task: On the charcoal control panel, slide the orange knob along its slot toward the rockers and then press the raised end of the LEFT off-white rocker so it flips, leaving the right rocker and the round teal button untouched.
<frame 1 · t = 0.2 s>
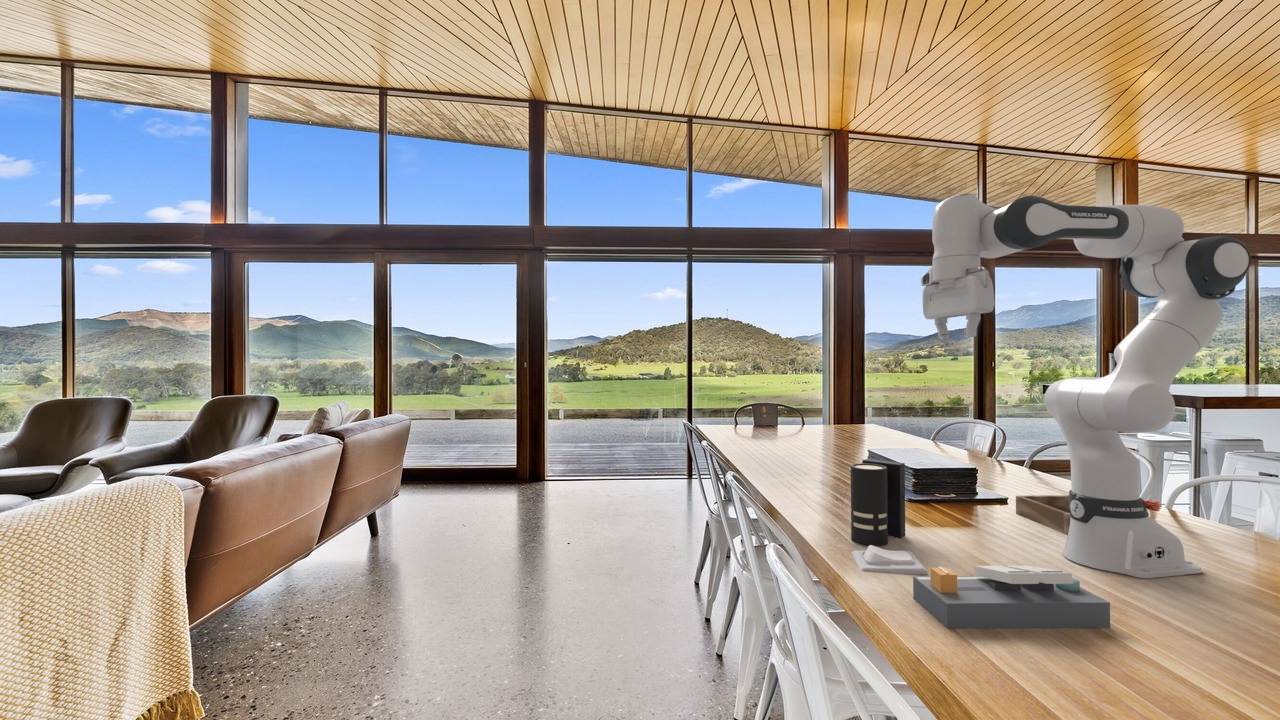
hand: (956, 337, 116), 48 cm above the table, fingers open, 8 cm apart
button: (1067, 584, 93), point 5 cm above the table, slide at 0.0 cm
slider knob: (943, 579, 93), point 6 cm above the table, slide at 0.0 cm
panel: (1005, 612, 93), on the table
light fixture: (874, 539, 132), on the table
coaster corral: (1075, 523, 143), on the table
light switch: (887, 566, 116), on the table
rocker A: (1037, 573, 93), point 6 cm above the table, hinge at 14.0°
rocker B: (1004, 573, 93), point 6 cm above the table, hinge at 14.0°
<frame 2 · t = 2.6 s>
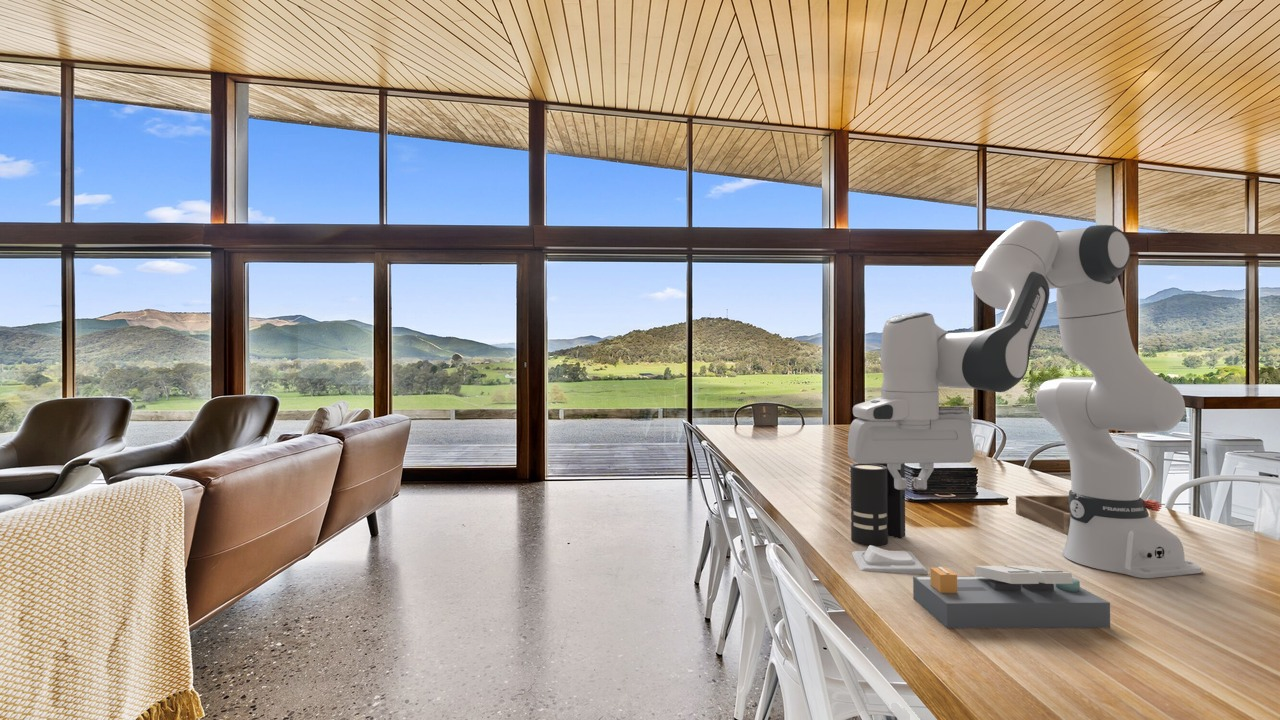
hand: (910, 488, 93), 21 cm above the table, fingers closed
nothing on the table moved.
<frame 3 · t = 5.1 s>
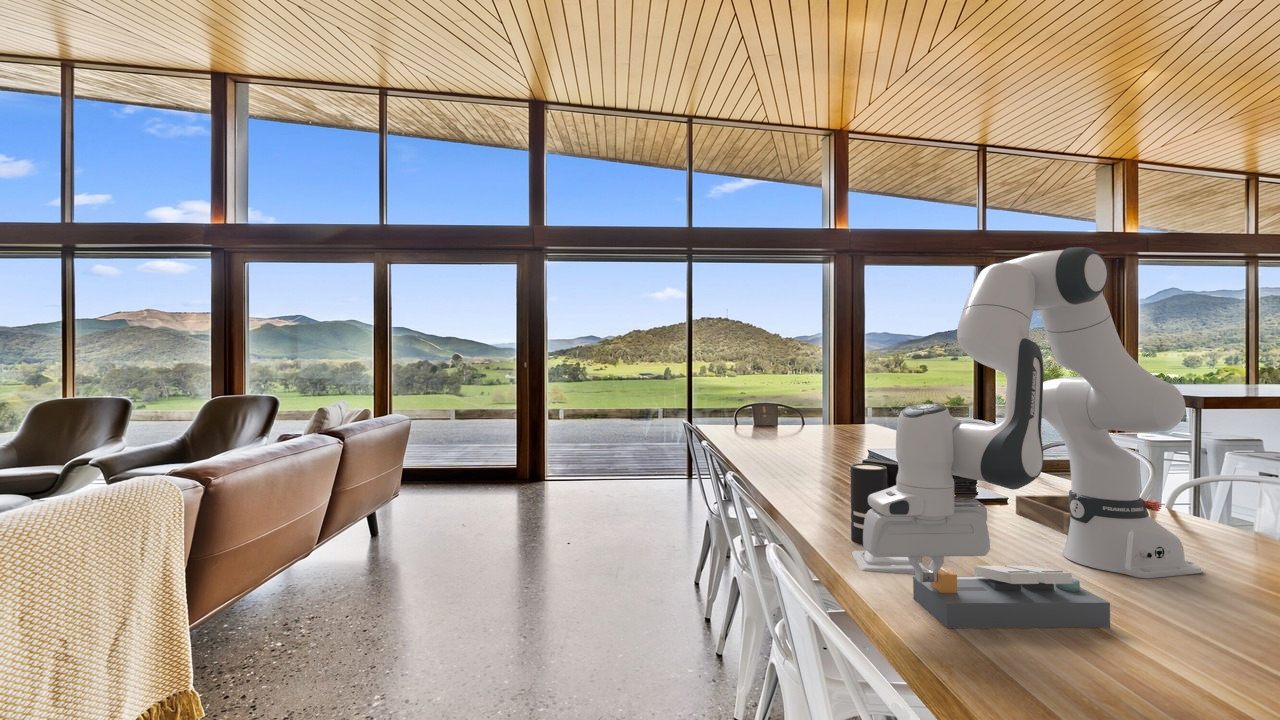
hand: (926, 580, 93), 5 cm above the table, fingers closed
slider knob: (943, 579, 93), point 6 cm above the table, slide at 0.0 cm, touching gripper
everything else where it was.
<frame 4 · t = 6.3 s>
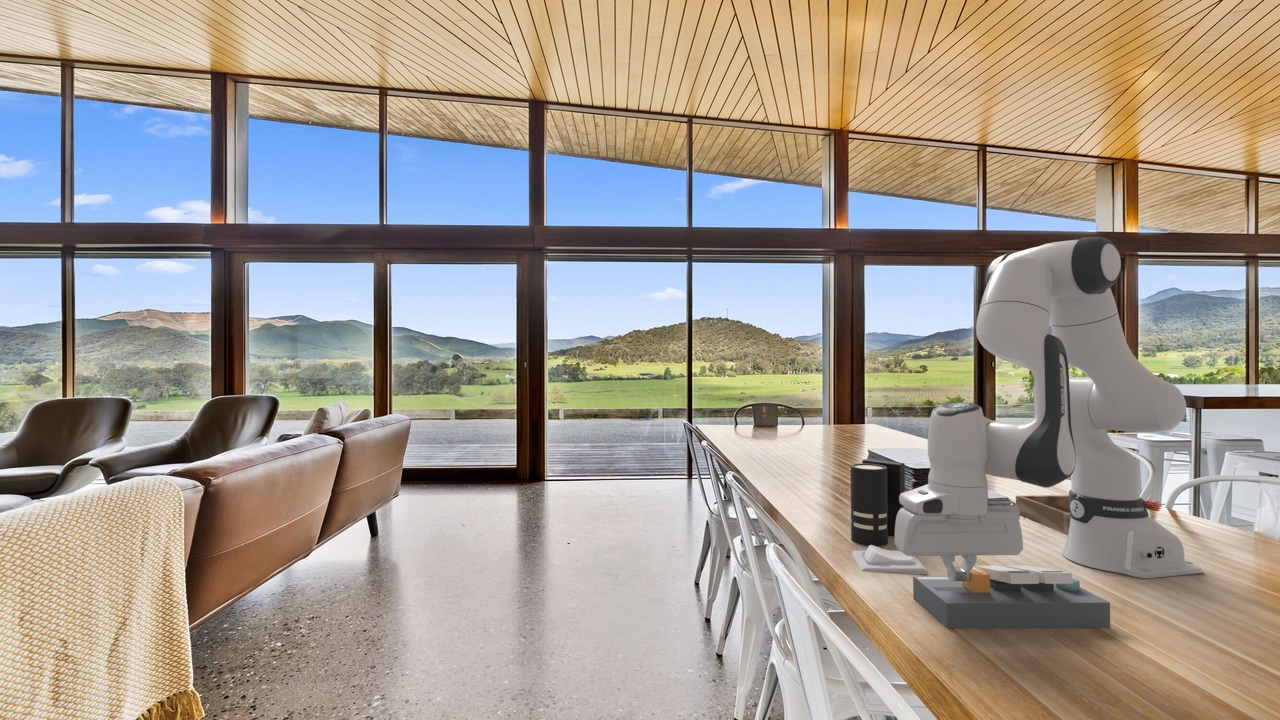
hand: (958, 579, 93), 6 cm above the table, fingers closed
slider knob: (975, 579, 93), point 6 cm above the table, slide at 5.4 cm, touching gripper
everything else where it was.
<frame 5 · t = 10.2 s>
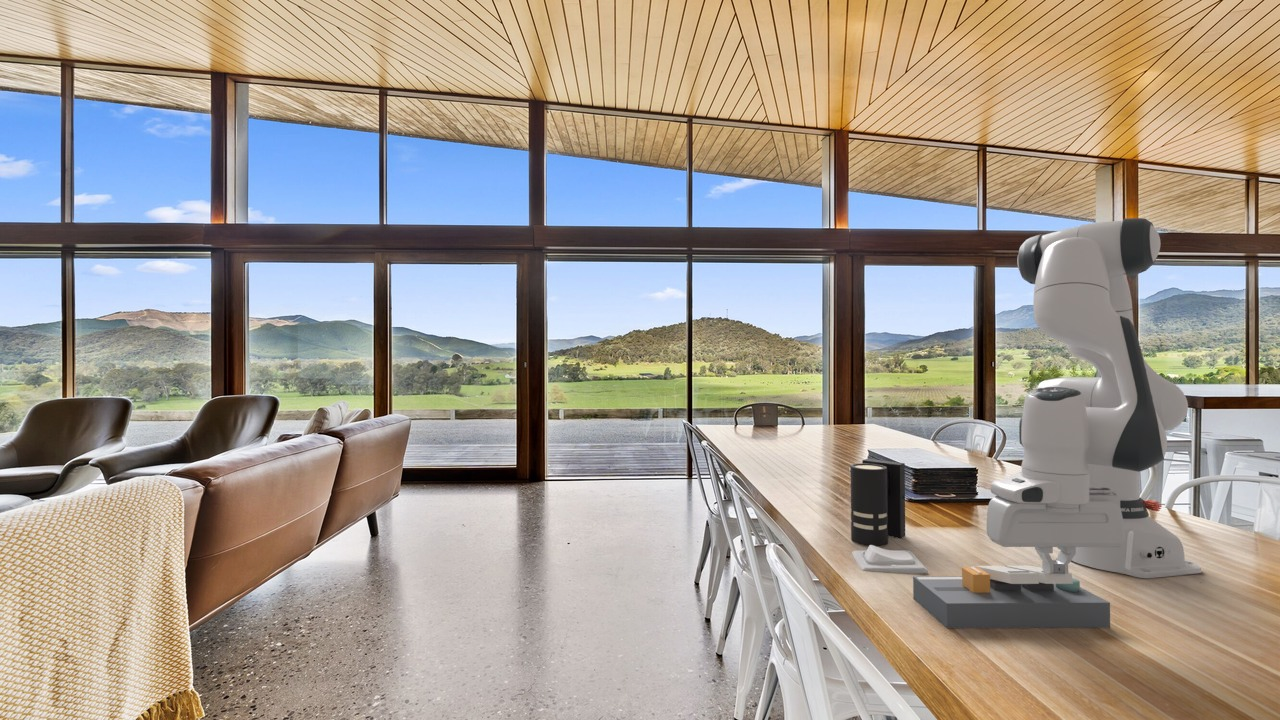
hand: (1055, 572, 89), 8 cm above the table, fingers closed, pressing on rocker A
slider knob: (975, 579, 93), point 6 cm above the table, slide at 5.5 cm
rocker A: (1037, 573, 93), point 6 cm above the table, hinge at 13.9°, touching gripper
everything else where it was.
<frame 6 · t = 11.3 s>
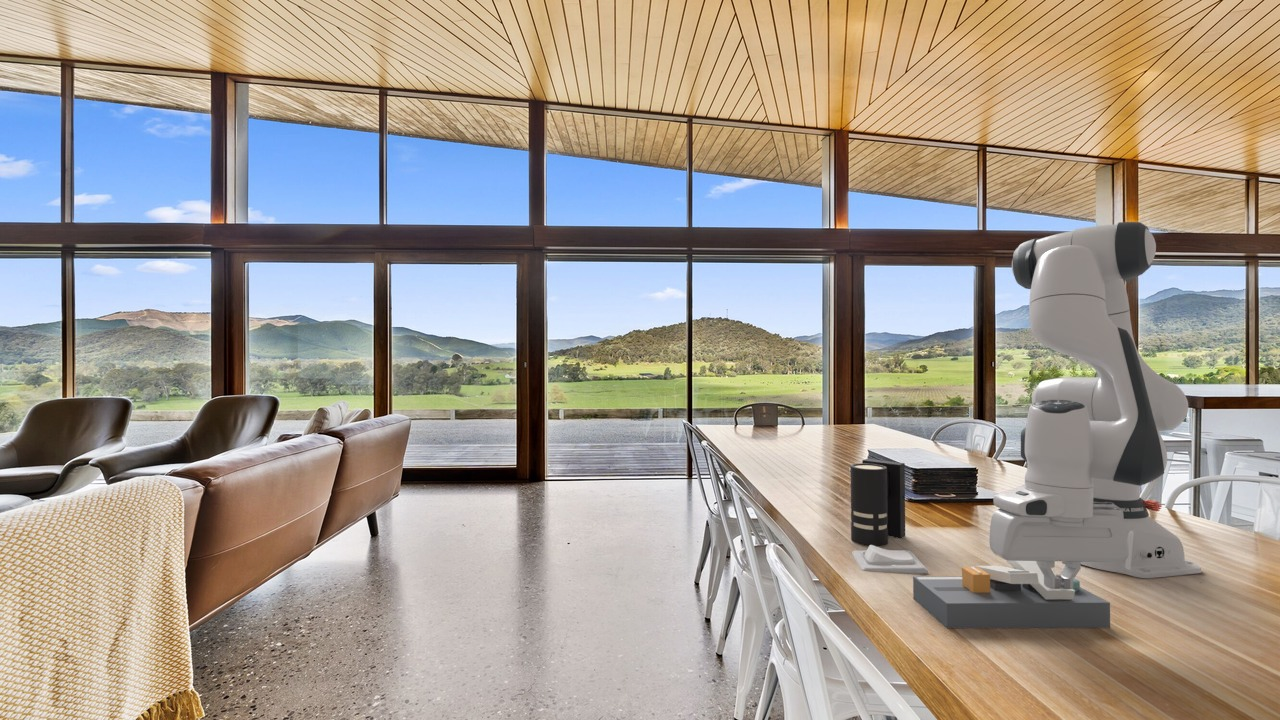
hand: (1058, 587, 88), 6 cm above the table, fingers closed, pressing on rocker A
rocker A: (1038, 574, 93), point 6 cm above the table, hinge at -15.7°, touching gripper
everything else where it was.
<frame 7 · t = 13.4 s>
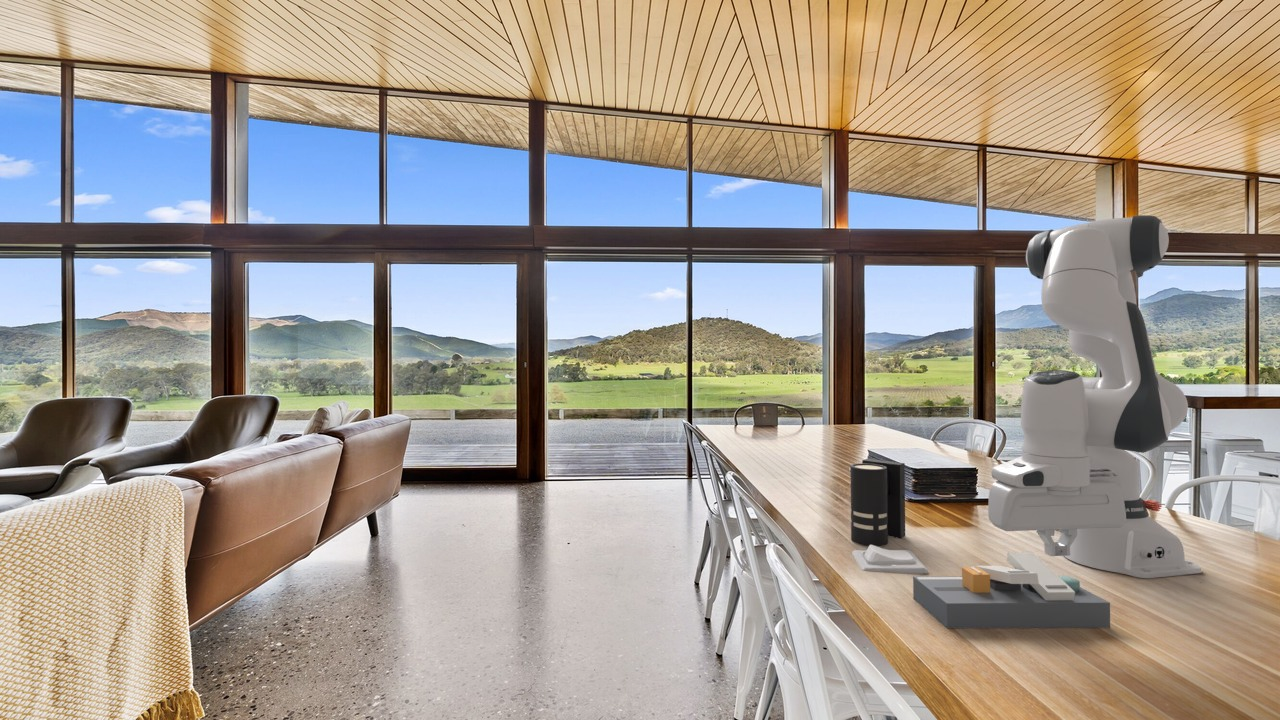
hand: (1057, 554, 90), 11 cm above the table, fingers closed
rocker A: (1039, 574, 93), point 6 cm above the table, hinge at -17.9°
everything else where it was.
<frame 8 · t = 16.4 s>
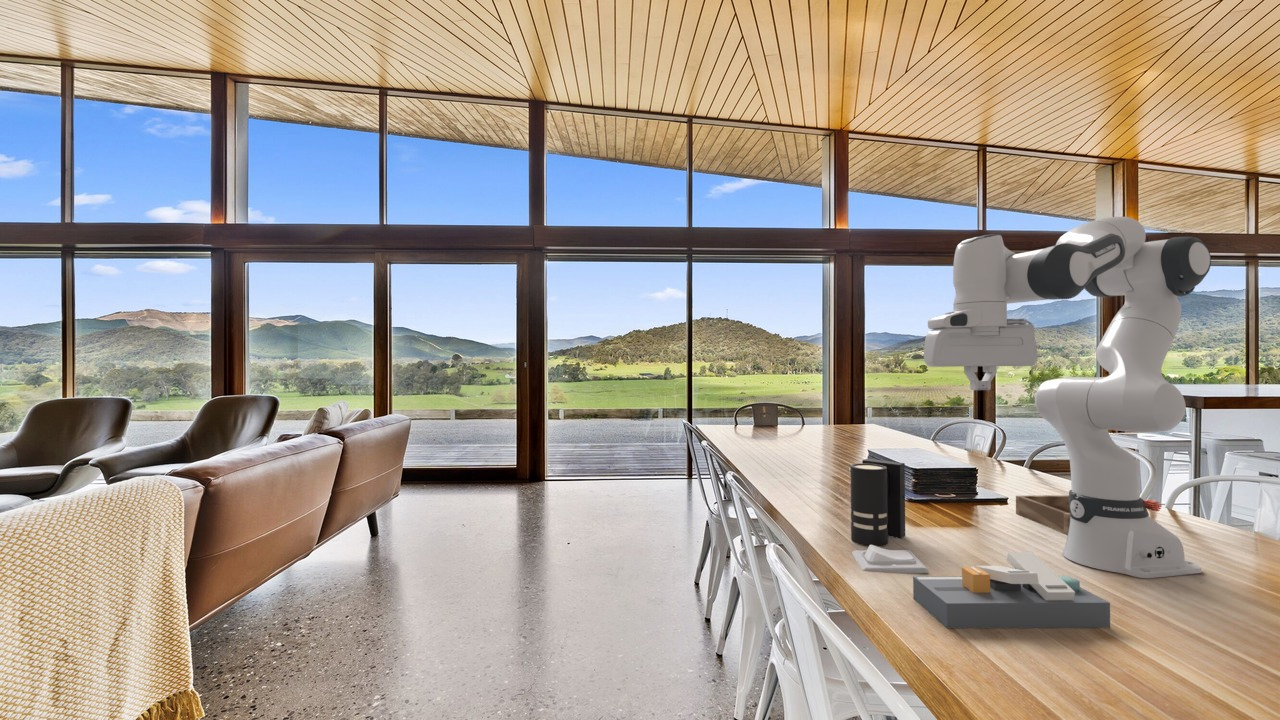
hand: (980, 390, 106), 37 cm above the table, fingers closed
nothing on the table moved.
at the end: slider knob slide at 5.5 cm; rocker A at -18° (first picture: +14°); rocker B at +14° (first picture: +14°) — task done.
